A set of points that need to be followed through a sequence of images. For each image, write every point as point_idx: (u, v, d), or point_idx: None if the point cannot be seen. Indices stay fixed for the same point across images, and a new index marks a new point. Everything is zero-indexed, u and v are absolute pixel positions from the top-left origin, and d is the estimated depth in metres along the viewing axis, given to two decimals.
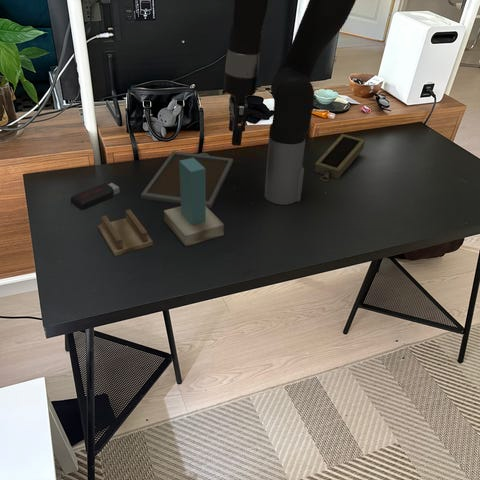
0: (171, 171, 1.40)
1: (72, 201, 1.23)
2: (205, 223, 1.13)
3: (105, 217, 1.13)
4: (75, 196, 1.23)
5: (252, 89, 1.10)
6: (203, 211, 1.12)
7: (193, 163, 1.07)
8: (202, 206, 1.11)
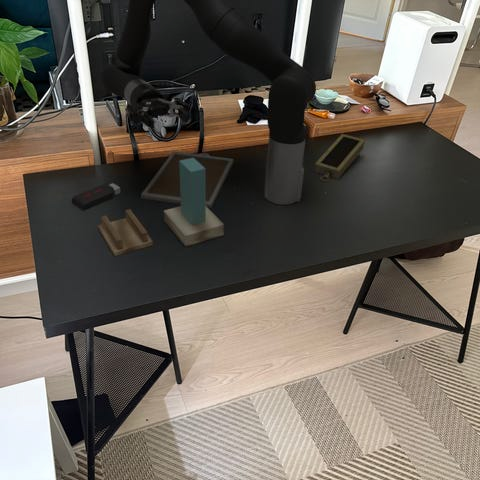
0: (171, 171, 1.40)
1: (73, 202, 1.23)
2: (205, 223, 1.13)
3: (105, 217, 1.13)
4: (76, 197, 1.22)
5: (137, 93, 1.17)
6: (203, 211, 1.12)
7: (193, 163, 1.07)
8: (202, 206, 1.11)
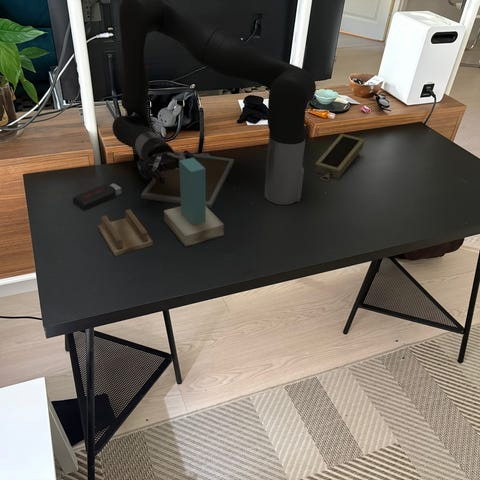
0: (171, 171, 1.40)
1: (74, 202, 1.23)
2: (205, 223, 1.13)
3: (105, 217, 1.13)
4: (77, 197, 1.22)
5: (148, 147, 1.22)
6: (203, 211, 1.12)
7: (193, 163, 1.07)
8: (202, 206, 1.11)
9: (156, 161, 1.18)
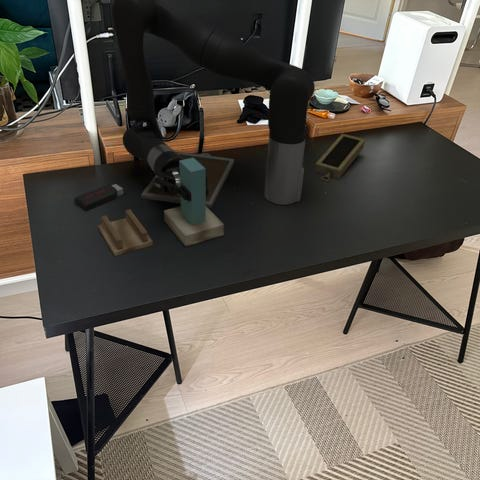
0: None
1: (76, 202, 1.23)
2: (205, 223, 1.13)
3: (105, 217, 1.13)
4: (79, 197, 1.22)
5: (161, 162, 1.16)
6: (203, 211, 1.12)
7: (193, 163, 1.07)
8: (202, 206, 1.11)
9: (176, 177, 1.12)
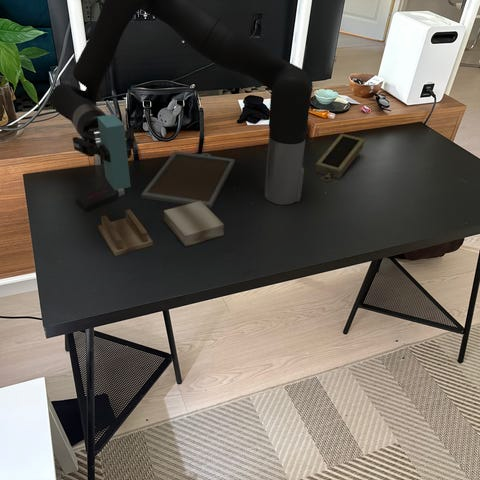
0: (172, 171, 1.40)
1: (77, 203, 1.23)
2: (205, 223, 1.13)
3: (105, 217, 1.13)
4: (80, 198, 1.22)
5: (84, 121, 1.05)
6: (126, 174, 1.01)
7: (112, 119, 0.97)
8: (124, 168, 1.00)
9: (97, 136, 1.01)
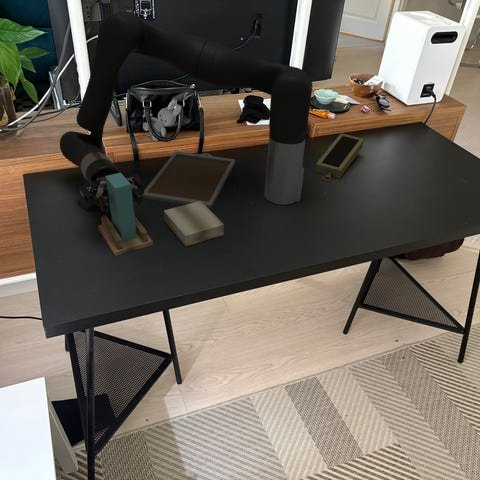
0: (172, 171, 1.40)
1: (79, 203, 1.23)
2: (205, 223, 1.13)
3: (105, 217, 1.13)
4: (82, 198, 1.22)
5: (91, 170, 1.12)
6: (133, 227, 1.09)
7: (119, 178, 1.04)
8: (131, 222, 1.08)
9: (100, 186, 1.08)
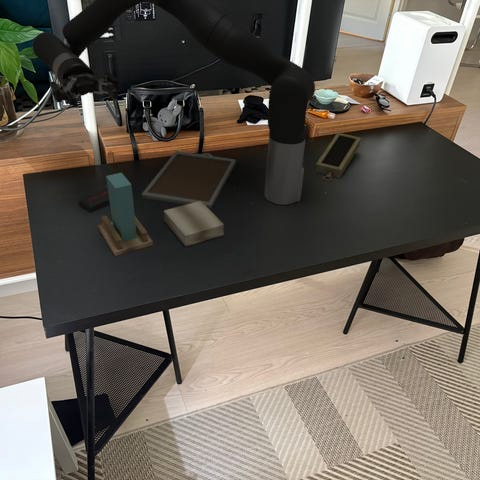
0: (173, 171, 1.40)
1: (80, 204, 1.22)
2: (205, 223, 1.13)
3: (105, 217, 1.13)
4: (83, 199, 1.22)
5: (63, 68, 1.09)
6: (133, 227, 1.09)
7: (120, 178, 1.05)
8: (131, 222, 1.08)
9: (70, 82, 1.05)
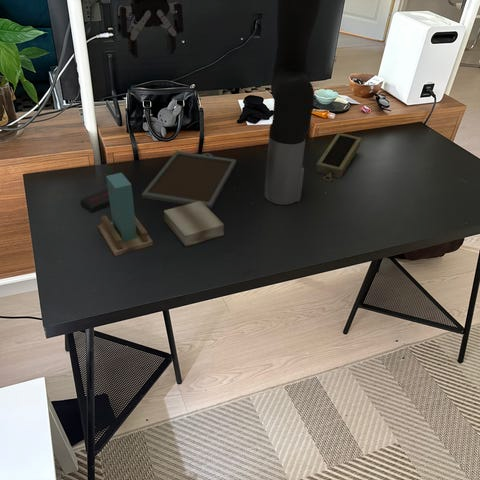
0: (173, 171, 1.40)
1: (82, 204, 1.22)
2: (205, 223, 1.13)
3: (105, 217, 1.13)
4: (85, 199, 1.22)
5: None
6: (133, 227, 1.09)
7: (120, 178, 1.05)
8: (131, 222, 1.08)
9: (140, 24, 1.01)
